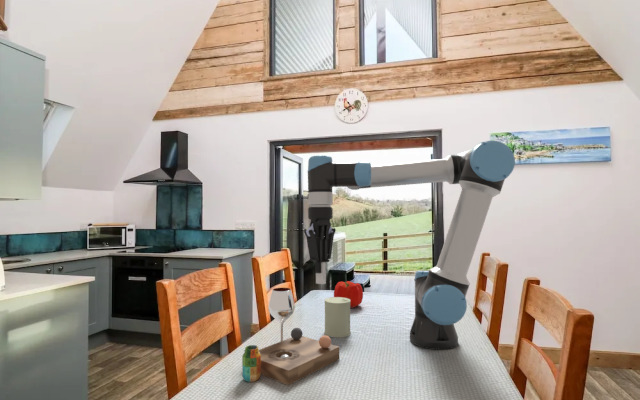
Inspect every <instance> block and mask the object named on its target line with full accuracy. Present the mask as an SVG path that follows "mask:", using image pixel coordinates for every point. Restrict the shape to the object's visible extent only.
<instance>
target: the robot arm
mask: <svg viewBox="0 0 640 400" xmlns="http://www.w3.org/2000/svg"><path fill="white" fill-rule="evenodd" d="M515 159H516V158H515V154H514V152H513V151H512V149H511V148H510V147H509V146H508V145H507V144H505V143H503V142H501V141H498V140H485V141H482V142H479V143H477V144H476V145H475V146H474V147H472V148H471V149H469V150H466V151H464V152H460V153H457V154H449V155H447V156H446V157H445V158H440V159H438V158H437V159H429V160H428V159H426V160H418V161H417V160H414V161H406V162H394V163H384V164H383V163H382V164H371V162H369V161H361V160H360V161H349V162H346V161H345V162H342V161H341V162H336V161H333V157H332V156H330V155H319V154H318V155H312V156H310V157H309V158H308V163H307V164H308V165H307V192H308V197H307V198H308V199H307V200H308V201H307V204H308V206H309V207H308V208H307V212H308V213H307V215H308V216H307V218H308V219H309V220H310V223H309V228H308V229H305V230H303V233H304V235H305V237H306V243H307V249H308V254H309V260H310V261H311V262H313V263H314V269H315V270H314V272H315V284H317V285H326V283H327V282H326V281H327V263H329V262H330V260H331V259H332V253H333V245H334V244H333V243H334V239H335V238H334V237H335V234H336V232H337V230H336V227H332V226H331V225H332V224H331V220H332V219H333V217H334V216H333V214H334V213H333V209H334V208H333V207H332V205H334V204H333V203H334V201H333V200H334V199H333V187H334V188H337V187H338V188H339V187H340V188H343V187H344V188H348V189H350V190H351V191H354V190H355V191H358V190H360V189H370V188H382V187H383V188H384V187H395V186H406V185H408V186H409V185H421V184H430V183H431V184H432V183H445V182H447V183H448V184H449V185H459V186H460V187H461V191H460V194H459V198H458V200H457V203H456V206H455V209H454V212H453V215H452V218H451V221H450V225H449V228H448V230H447V233H446V236H445V239H444V242H443V246H442V249H441V250H440V254H439V257H438V260H437V264H436V265H435V266H434V267H431V268H430V269H429V270H417V271H415V274H414V280H413V281H414V317H413V321H412V324H411V326H410V327H411V328H410V331H409V341H410V343H412V344H413V345H416V346H417V347H421V348H425V349H430V350H431V349H432V350H450V349H454V348H456V347H457V346H458V345H459V336H458V333H457V330H456V327H455V325H454V324H456V323H458V322H460V321H461V320H462V319H463V318H464V317H465V314H466V312H467V307H468V306H467V305H468V303H467V298H466V296H467V293H468V290H469V288H470V284H471V283H470V282H469V279H468V277H467V275H468V272H469V269H470V266H471V263H472V260H473V257H474V254H475V251H476V248H477V245H478V242H479V239H480V236H481V233H482V230H483V227H484V224H485V221H486V218H487V215H488V212H489V210H490V206H491V203H492V201H493V198H494V197H496V196H497V195H501V191H502V188H503V185H504V182H505V180H506V179H507V178H508V177H510V175H511V174H512V172H514V169H515V166H516V165H515V164H516V160H515Z"/></svg>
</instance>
